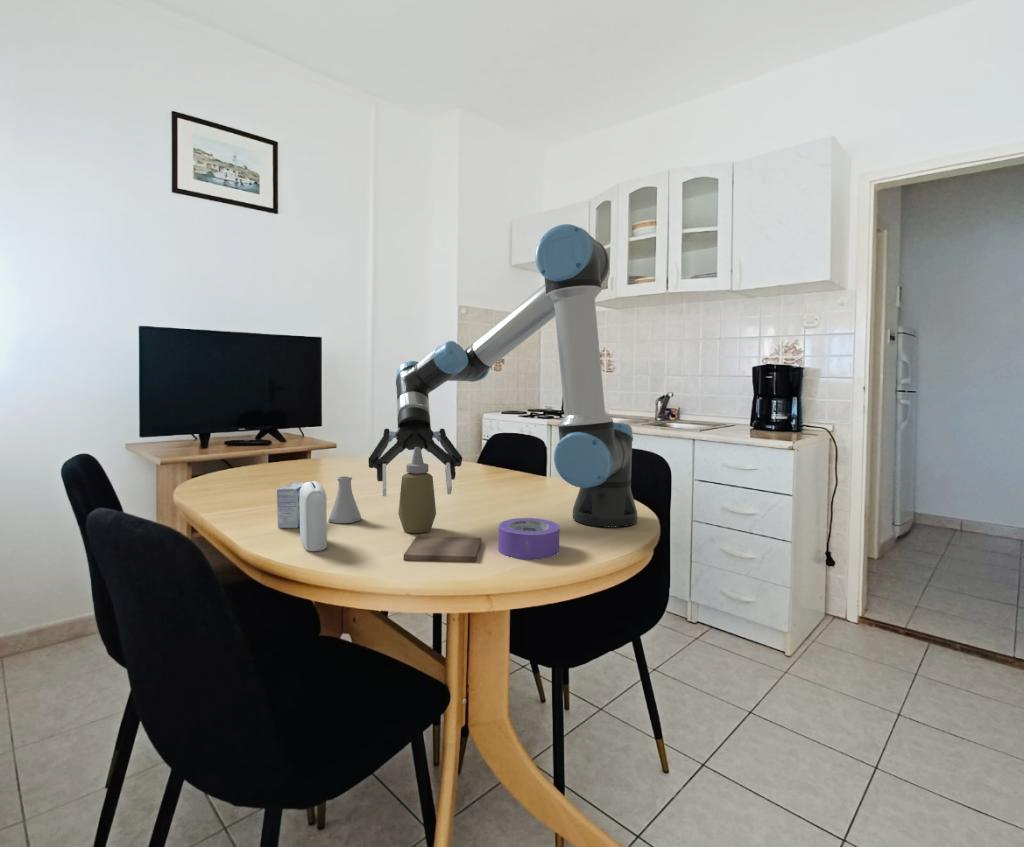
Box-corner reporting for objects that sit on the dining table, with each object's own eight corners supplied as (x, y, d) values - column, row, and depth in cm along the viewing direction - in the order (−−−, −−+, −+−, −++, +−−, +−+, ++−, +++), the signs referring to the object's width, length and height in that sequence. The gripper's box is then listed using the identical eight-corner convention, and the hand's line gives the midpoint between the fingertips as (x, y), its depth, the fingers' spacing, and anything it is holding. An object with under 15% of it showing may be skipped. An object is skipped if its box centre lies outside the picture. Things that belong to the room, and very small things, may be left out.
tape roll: (556, 562, 101) (556, 535, 101) (492, 558, 103) (493, 531, 103) (561, 544, 113) (561, 519, 112) (504, 540, 115) (504, 516, 114)
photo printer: (298, 539, 113) (297, 478, 112) (320, 536, 115) (320, 477, 114) (305, 553, 103) (304, 487, 103) (329, 550, 105) (328, 485, 105)
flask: (352, 525, 124) (351, 480, 123) (322, 523, 125) (321, 479, 124) (366, 517, 131) (366, 475, 130) (338, 515, 132) (338, 474, 131)
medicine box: (297, 528, 120) (296, 489, 120) (276, 528, 120) (276, 488, 120) (311, 519, 128) (310, 482, 127) (291, 519, 128) (291, 482, 128)
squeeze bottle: (400, 525, 124) (400, 445, 123) (437, 525, 125) (437, 445, 123) (395, 535, 116) (395, 449, 115) (435, 535, 117) (435, 449, 115)
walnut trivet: (481, 542, 112) (481, 537, 112) (475, 561, 100) (475, 556, 100) (416, 541, 112) (416, 536, 112) (403, 560, 101) (403, 554, 100)
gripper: (464, 426, 137) (473, 499, 123) (359, 426, 131) (356, 503, 118) (468, 405, 131) (478, 480, 118) (358, 404, 126) (355, 483, 112)
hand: (417, 491), depth 118 cm, fingers open, 13 cm apart
